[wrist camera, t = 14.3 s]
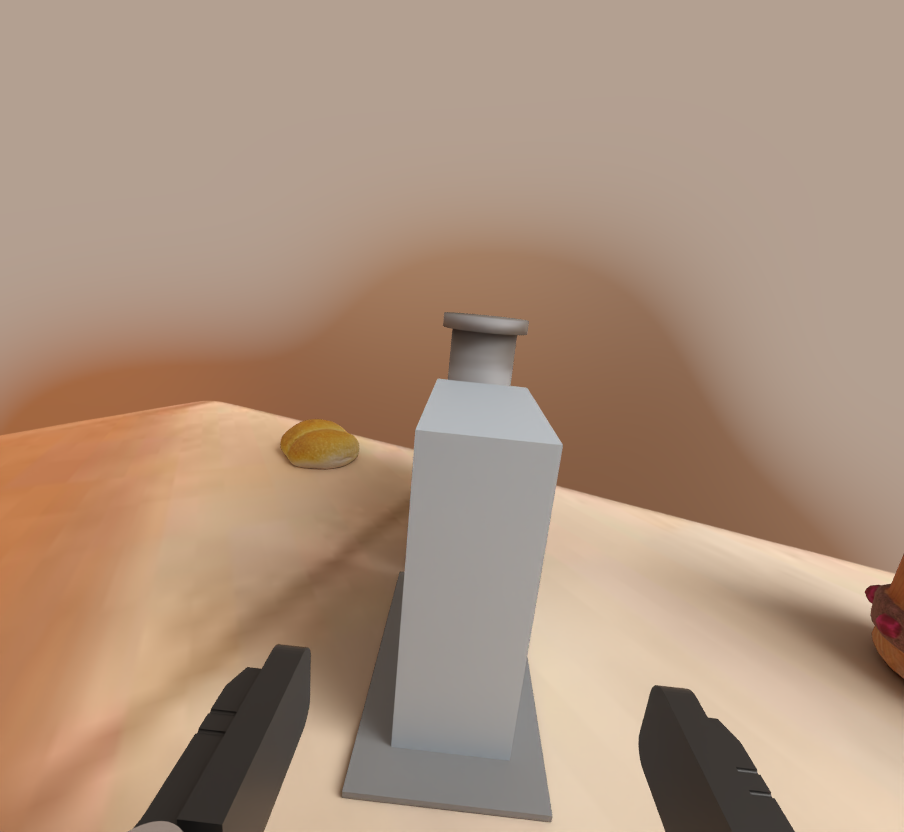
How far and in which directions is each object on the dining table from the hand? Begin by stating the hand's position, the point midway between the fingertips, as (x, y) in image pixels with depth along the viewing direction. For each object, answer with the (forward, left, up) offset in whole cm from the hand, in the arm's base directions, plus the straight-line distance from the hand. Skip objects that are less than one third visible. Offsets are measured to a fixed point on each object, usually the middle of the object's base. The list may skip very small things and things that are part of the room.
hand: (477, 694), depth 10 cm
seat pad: (-2, +11, -10) cm, 15 cm away
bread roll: (-23, +35, -10) cm, 43 cm away
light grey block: (-2, +11, -10) cm, 15 cm away
